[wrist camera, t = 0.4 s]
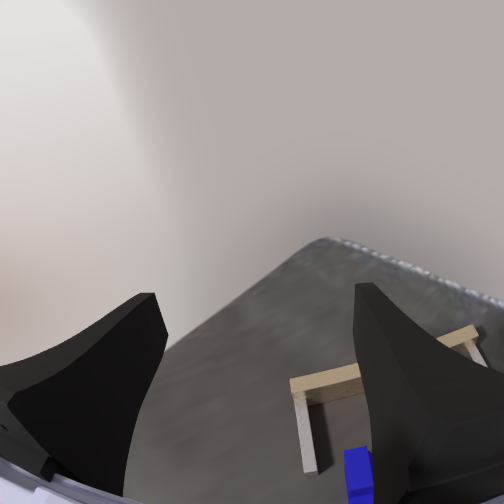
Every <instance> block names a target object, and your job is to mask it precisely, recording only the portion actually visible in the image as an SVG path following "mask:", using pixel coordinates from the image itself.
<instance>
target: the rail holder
mask: <svg viewBox="0 0 504 504" xmlns="http://www.w3.org/2000/svg"><path fill="white" fill-rule="evenodd" d="M478 337H479V335H478V333H477V331H476V330H475V328H474V327H473V325H469V326H467V327H464V328H462V329H459V330H457V331H454V332H452V333H449V334H446V335H443V336H441V337H438V338H436V339H437V340H439V341H440V342H441V343H443V344H444V345H446V346H448V347H449V348H451V349H452V350H454V351H456V352H458V353H460V354H461V355H463V356H465V357H467V358H469V359H470V360H473V361H475V362H477V363H479V364H481V365H483V366H485V367H487V365H486V363H485V362H484V360H483V358H482V356H481V354H480V353H479V351H478V349H477V348H476V346H475V345H476V342H477V340H478ZM290 386H291V393H292V396H293V399H294V403H295V410H296V417H297V424H298V431H299V438H300V445H301V453H302V460H303V467H304V473H305V476H306V477H311V476H316V475H319V474H318V468H317V461H316V455H315V449H314V443H313V437H312V430H311V424H310V418H309V412H308V407H307V406H311V405H316V404H320V403H325V402H329V401H333V400H337V399H341V398H345V397H349V396H353V395H357V394H360V393H364V392H365V391H364V387H363V383H362V379H361V374H360V370H359V366H358V363H355V364H351V365H348V366H344V367H340V368H336V369H332V370H328V371H323V372H319V373H315V374H310V375H306V376H301V377H297V378H292V379H290Z"/></svg>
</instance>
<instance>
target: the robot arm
mask: <svg viewBox="0 0 504 504" xmlns="http://www.w3.org/2000/svg"><path fill="white" fill-rule="evenodd" d="M353 337H354V345H355V353H356V358H357V362H358V366H359V370H360V374H361V379H362V383H363V387H364V391H365V395H366V400H367V404H368V409H369V415H370V425H371V436H372V451H373V480H374V495H373V504H504V374H503V373H500V372H497V371H495V370H492V369H490V368H488V367H485V366H483V365H481V364H479V363H477V362H475V361H473V360H470V359H469V358H467V357H465V356H463V355H461V354H460V353H458V352H456V351H454V350H452V349H451V348H449V347H448V346H446V345H444V344H443V343H441V342H440V341H439V340H437V339H436V338H434V337H433V336H431V335H430V334H429V333H427V332H426V331H425V330H423V329H422V328H421V327H420V326H418V325H417V324H416V323H415V322H414V321H412V320H411V319H410V318H409V317H408V316H407V315H405V314H404V313H403V312H402V311H401V310H400V309H399V308H398V307H397V306H396V305H395V304H394V303H393V302H392V301H391V300H390V299H389V298H388V297H387V296H386V295H385V294H384V293H383V292H382V291H381V290H380V289H379V288H378V287H377V286H376V285H375V284H374V283H359V284H355V303H354V320H353ZM167 338H168V332H167V329H166V327H165V324H164V321H163V318H162V315H161V312H160V309H159V305H158V302H157V300H156V296H155V293H139V294H137V295H136V296H134V297H132V298H131V299H129V300H127V301H126V302H125V303H123V304H122V305H120V306H119V307H117V308H116V309H114V310H113V311H111V312H110V313H109V314H107V315H106V316H104V317H103V318H101V319H100V320H98V321H97V322H95V323H94V324H92V325H91V326H89V327H88V328H86V329H85V330H83V331H81V332H80V333H78V334H77V335H75V336H73V337H72V338H70V339H68V340H66V341H64V342H63V343H60V344H59V345H57V346H55V347H53V348H50V349H48V350H46V351H43V352H41V353H39V354H37V355H35V356H32V357H29V358H27V359H24V360H21V361H18V362H14V363H11V364H8V365H3V366H0V504H145V503H142V502H138V501H134V500H130V499H127V498H123V486H124V477H125V470H126V464H127V458H128V453H129V448H130V444H131V439H132V435H133V431H134V428H135V424H136V421H137V417H138V414H139V411H140V408H141V405H142V403H143V400H144V398H145V396H146V393H147V391H148V389H149V387H150V384H151V382H152V380H153V378H154V375H155V373H156V371H157V369H158V366H159V364H160V362H161V359H162V357H163V354H164V350H165V347H166V343H167Z"/></svg>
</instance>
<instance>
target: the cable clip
mask: <svg viewBox="0 0 504 504" xmlns="http://www.w3.org/2000/svg"><path fill="white" fill-rule="evenodd" d="M344 460H345V477H346V485H347V493H348V501H349V504H373V495H374V480H373V453H371V452H369V451H368V450H367V446H364V447H359V448H354V449H350V450H345V451H344Z"/></svg>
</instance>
